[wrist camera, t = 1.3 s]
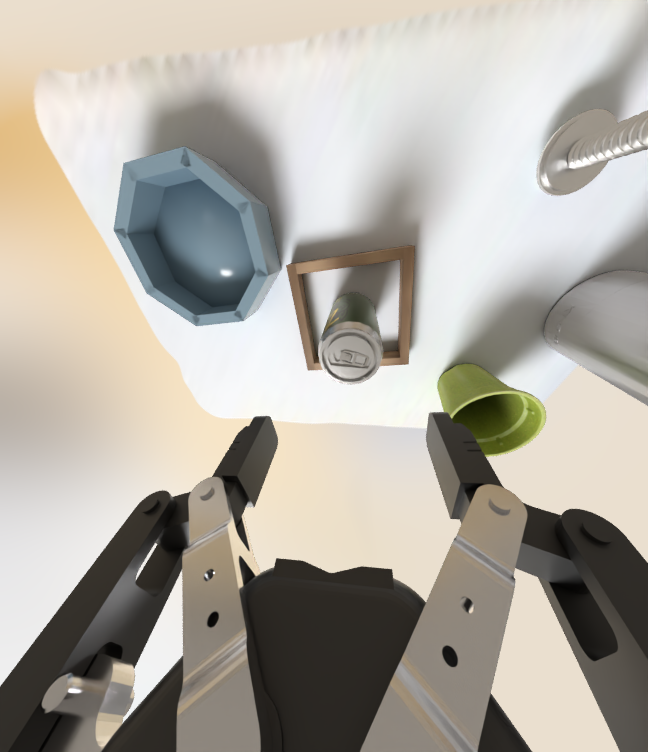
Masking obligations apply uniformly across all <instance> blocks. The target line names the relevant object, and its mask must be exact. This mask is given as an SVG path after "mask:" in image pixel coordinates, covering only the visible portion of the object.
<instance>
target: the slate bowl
mask: <svg viewBox="0 0 648 752" xmlns="http://www.w3.org/2000/svg"><path fill="white" fill-rule="evenodd" d="M114 232H115V233H116V235H117V237H118V239H119V241H120V243H121V245H122V247H123V249H124V251H125V253H126V255H127V256H128V258H129V260H130V262H131V264H132V266H133V268H134V270H135V272H136V274H137V276H138V277H139V279H140V281H141V283H142V285H143V287H144V289H145V291H146V293H147V294H149V295H150V296H152V297H153V298H155V299H156V300H158V301H159V302H161V303H162V304H164V305H165V306H167V307H168V308H170V309H171V310H173V311H174V312H176V313H177V314H179V315H180V316H182V317H183V318H185V319H186V320H188V321H189V322H191V323H192V324H194V325H195V326H203V325H212V324H221V323H230V322H240V321H244V320H245V319H247V318H248V317H249V316H251V315H252V314H253V313H255V312H256V311H257V310H258V309H259V307H260V305H261V304H262V302H263V300H264V299H265V297H266V295H267V293H268V292H269V290H270V288H271V286H272V285H273V283H274V281H275V280H276V278H277V276H278V274H279V273H280V271H281V267H280V262H279V258H278V253H277V248H276V244H275V239H274V235H273V230H272V226H271V221H270V217H269V212H268V207H267V206H266V205H265V204H264V203H263V202H261V201H260V200H259V199H258V198H257V197H256V196H254V195H253V194H252V193H251V192H250V191H249V190H247V189H246V188H245V187H244V186H243V185H242V184H240V183H239V182H238V181H237V180H236V179H235V178H233V177H232V176H231V175H230V174H229V173H228V172H227V171H225V170H224V169H223V168H222V167H221V166H220V165H218V164H217V163H216V162H215V161H213V160H211V159H209V158H207V157H205V156H203V155H201V154H199V153H197V152H195V151H193V150H192V149H190V148H188V147H186V146H184V147H181V148H177V149H173V150H170V151H166V152H162V153H159V154H155V155H151V156H148V157H144V158H141V159H137V160H133V161H130V162H126V163H124V164H123V171H122V178H121V185H120V191H119V198H118V205H117V212H116V218H115V225H114Z"/></svg>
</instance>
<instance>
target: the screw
mask: <svg viewBox="0 0 648 752" xmlns="http://www.w3.org/2000/svg"><path fill="white" fill-rule="evenodd" d="M647 149H648V111H645V112H642V113H640V114H639V115H635V116H633V117H631V118H629V119H626V120H623V121H621V122H620V123H617V120H616V118H615V117H614V115H613V114H612V113H610V112H609V111H607V110H603V109H592V110H589V111H586V112H583V113H581V114H579V115H577V116H575V117H573V118H572V119H570V120H569V121H567V122H566V123H565V124H564V125H562V126H561V127H560V128H559V129H558V130H557V131H556V132H555V133H554V134H553V136H552V137H551V138H550V140H549V141H548V142H547V144H546V146H545V147H544V149H543V151H542V153H541V156H540V158H539V161H538V165H537V173H536V178H537V182H538V185H539V187H540V189H541V190H542V191H543V192H545V193H546V194H549V195H552V196H560V195H566V194H570V193H572V192H575V191H577V190H579V189H581V188H582V187H584V186H585V185H587V184H588V183H589V182H591V181H592V180H593V179H594V178H595V177H596V176H597V175H598V174H599V173H600V172H601V171H602V169H603V168H604V167H605V166H606V164H607V163H608V161H609V160H612V159H615V158H619V157H622V156H626V155H629V154H632V153H636V152H639V151H642V150H647Z"/></svg>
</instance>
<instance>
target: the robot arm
mask: <svg viewBox="0 0 648 752" xmlns="http://www.w3.org/2000/svg"><path fill="white" fill-rule="evenodd" d="M544 336H545V339H546V342H547V343H548V345H549V346H550V347H551V348H552V349H554V350H556V351H557V352H559V353H560V354H562V355H564V356H565V357H567V358H569V359H570V360H572V361H574V362H575V363H577V364H579V365H580V366H582V367H584V368H585V369H587V370H589V371H590V372H592V373H594V374H595V375H597V376H599V377H600V378H602V379H604V380H605V381H607V382H609V383H610V384H612V385H614V386H616V387H617V388H619V389H621V390H622V391H624V392H626V393H627V394H629V395H631V396H632V397H634V398H636V399H637V400H639V401H641V402H642V403H644V404H646V405H647V406H648V273H644V272H637V271H628V270H620V271H611V272H607V273H604V274H600V275H597V276H595V277H593V278H590V279H588V280H586V281H584V282H583V283H581V284H579V285H578V286H576V287H574V288H573V289H572V290H571V291H569V292H568V293H567V294H565V295H564V296H563V297H562V298H561V299H560V300H559V301H558V302H557V304H556V305H555V306H554V308H553V309H552V310H551V312H550V314H549V316H548V318H547V320H546V323H545V327H544ZM426 441H427V447H428V451H429V454H430V457H431V460H432V463H433V466H434V469H435V472H436V475H437V478H438V482H439V485H440V488H441V491H442V494H443V497H444V500H445V503H446V506H447V509H448V512H449V515H450V518H451V519H460V521H461V527H460V529H459V532H458V534H457V536H456V538H455V539H454V541H453V543H452V545H451V547H450V550H449V552H448V554H447V556H446V558H445V561H444V563H443V565H442V568H441V570H440V572H439V575H438V577H437V579H436V582H435V584H434V586H433V588H432V590H431V593H430V595H429V598H428V600H427V602H425V601H424V600H423V599H422V598H421V597H420V596H419V595H418V594H417V593H416V592H415V591H413V590H412V589H411V588H410V587H408V586H407V585H405V584H403V583H402V582H400V581H398V580H396V579H394V578H393V575H392V574H393V573H392V569H382V568H372V567H357V568H353V569H349V570H344V571H340V572H336V573H328V572H326V571H324V570H322V569H319V568H317V567H315V566H313V565H311V564H308V563H306V562H304V561H299V560H298V561H297V560H288V559H278V558H277V559H276V562H275V566H274V568H271V569H269V570H266V571H264V572H262V573H260V570H259V567H258V565H257V562H256V560H255V557H254V554H253V551H252V547H251V543H250V539H249V535H248V531H247V527H246V523H245V520H244V516H243V512H244V510H245V507H255V504H256V501H257V499H258V496H259V494H260V491H261V489H262V486H263V483H264V481H265V478H266V475H267V473H268V470H269V467H270V465H271V462H272V459H273V457H274V454H275V451H276V449H277V445H278V438H277V434H276V431H275V428H274V425H273V423H272V420H271V418H270V417H269V416H257V417H254V418H253V420H252V422H251V424H250V426H246V427H245V428H243V430H241V431H240V432H239V433H238V435H237V436H236V438H235V440H234V441H233V443H232V444H231V446H230V448H229V450H228V451H227V453H226V454H225V456H224V458H223V459H222V461H221V463H220V464H219V466H218V468H217V469H216V471H215V473H214V475H213V476H212V477H210V478H207V479H205V480H203V481H201V482H200V483H199V484H198V485H196V487H195V488H194V489H193V490H192V492H189V493H185V494H181V495H178V496H175V497H172V496H171V495H170V494H169V492H167V491H158V492H155V493H153V494H151V495H149V496H148V497H146V498H145V499H144V500H142V501H141V502H140V503H139V504H138V506H137V507H136V508H135V510H134V511H133V512H132V513H131V515H130V516H129V517H128V519H127V520H126V521H125V523H124V524H123V525H122V527H121V528H120V529H119V531H118V532H117V533H116V535H115V536H114V537H113V538H112V540H111V541H110V542H109V544H108V545H107V546H106V548H105V549H104V550H103V552H102V553H101V554H100V556H99V557H98V558H97V560H96V561H95V562H94V564H93V565H92V566H91V568H90V569H89V570H88V571H87V573H86V574H85V575H84V577H83V578H82V579H81V581H80V582H79V583H78V585H77V586H76V587H75V589H74V590H73V591H72V593H71V594H70V595H69V596H68V598H67V599H66V601H65V602H64V603H63V604H62V606H61V607H60V608H59V610H58V611H57V612H56V614H55V615H54V616H53V618H52V619H51V620H50V622H49V623H48V624H47V626H46V627H45V628H44V629H43V631H42V632H41V633H40V635H39V636H38V637H37V639H36V640H35V642H34V643H33V644H32V645H31V647H30V648H29V649H28V651H27V652H26V653H25V655H24V656H23V657H22V659H21V660H20V661H19V663H18V664H17V665H16V667H15V668H14V669H13V670H12V672H11V673H10V674H9V676H8V677H7V678H6V680H5V681H4V682H3V684H2V685H1V686H0V752H532V751H531V750H530V748H529V747H528V745H527V744H526V742H525V741H524V740H523V738H522V737H521V735H520V734H519V733H518V731H517V730H516V728H515V727H514V725H513V724H512V723H511V721H510V720H509V718H508V717H507V716H506V714H505V713H504V711H503V710H502V708H501V707H500V706H499V704H498V703H497V701H496V700H495V698H494V697H493V696H492V694H491V689H492V684H493V680H494V676H495V671H496V667H497V663H498V658H499V654H500V650H501V645H502V641H503V636H504V632H505V627H506V624H507V619H508V615H509V611H510V606H511V602H512V598H513V593H514V588H515V578H514V570H515V568H517V569H519V570H522V571H524V572H527V573H529V574H532V575H534V576H537V577H538V578H539V580H540V583H541V584H542V587H543V589H544V591H545V593H546V595H547V597H548V600H549V602H550V604H551V606H552V608H553V610H554V612H555V614H556V617H557V619H558V621H559V623H560V625H561V627H562V629H563V631H564V634H565V636H566V638H567V640H568V642H569V644H570V646H571V648H572V651H573V653H574V655H575V657H576V659H577V661H578V663H579V665H580V668H581V670H582V672H583V674H584V676H585V678H586V680H587V682H588V685H589V687H590V689H591V691H592V693H593V695H594V697H595V699H596V701H597V704H598V706H599V708H600V710H601V712H602V714H603V716H604V718H605V721H606V722H607V725H608V727H609V729H610V731H611V733H612V735H613V738H614V740H615V742H616V744H617V746H618V748H619V750H620V752H648V563H647V562H646V560H645V559H644V558H643V557H642V556H641V554H640V553H639V552H638V551H637V550H636V548H635V547H634V546H633V545H632V543H630V541H629V540H628V539H627V537H626V536H625V535H624V534H623V533H622V532H621V531H620V530H619V529H618V528H617V527H615V526H614V525H613V524H612V523H610V522H609V521H607V520H606V519H604V518H602V517H600V516H598V515H596V514H594V513H591V512H588V511H585V510H580V509H569V510H566V511H565V512H564V513H563V514H562V515H558V514H555V513H551V512H548V511H544V510H541V509H538V508H535V507H532V506H529V505H527V504H525V503H523V502H521V500H520V499H519V498H518V497H517V496H516V495H515V494H513V493H512V492H510V491H509V490H507V489H505V488H504V487H503V486H502V484H501V483H500V481H499V479H498V477H497V476H496V474H495V472H494V471H493V469H492V467H491V465H490V463H489V462H488V460H487V458H486V456H485V455H484V453H483V452H482V449H481V448H480V446H479V444H478V443H477V441H476V439H475V437H474V435H473V434H472V432H471V431H470V430H469V429H468V428H466V427H465V426H464V425H463V424H462V423H453V421H452V419H451V417H450V415H449V413H448V412H433V413H429V417H428V426H427V434H426ZM154 543H157V544H158V545H157V546H156V548H155V550H154V552H153V553H152V555H151V557H150V558H149V560H148V561H147V563H146V565H145V566H144V568H143V570H142V571H141V573H140V575H139V577H138V578H137V580H136V575H137V572H138V570H139V568H140V567H141V565H142V563H143V562H144V560H145V558H146V557H147V555H148V553H149V552H150V550H151V548H152V547H153V545H154ZM181 570H182V574H183V576H182V577H183V656H182V657H181V658H180V659H179V661H178V662H177V663H176V664H175V665H174V666H173V667H172V668H171V670H170V671H169V672H168V673H167V674H166V675H165V676H164V677H163V679H162V680H161V681H160V682H159V683H158V684H157V685H156V687H155V688H154V689H153V690H152V691H151V692H150V693H149V694H148V695H147V697H146V698H145V699H144V700H143V701H142V702H141V704H140V705H139V706H138V707H137V708H136V709H135V710H134V711H133V712H132V713H131V715H130V716H129V717H128V718H127V719H126V720H125V721H124V723H123V724H122V722H123V717H124V716H125V715H126V713H127V712H128V711H129V709H130V707H131V705H132V702H133V699H134V690H133V686H134V680H135V673H134V668H135V666H136V664H137V662H138V660H139V658H140V655H141V654H142V651H143V649H144V647H145V645H146V643H147V641H148V639H149V636H150V634H151V633H152V631H153V628H154V626H155V624H156V622H157V620H158V618H159V616H160V614H161V612H162V610H163V607H164V606H165V603H166V601H167V599H168V597H169V595H170V593H171V591H172V589H173V587H174V585H175V583H176V580H177V578H178V576H179V574H180V572H181ZM135 580H136V582H135Z"/></svg>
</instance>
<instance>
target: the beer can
mask: <svg viewBox="0 0 648 752" xmlns="http://www.w3.org/2000/svg"><path fill="white" fill-rule="evenodd" d="M318 356H319V361H320V364H321V367H322V369H323V371H324V372H325V373H326V375H327V376H329V377H330V378H331V379H333V380H334V381H337V382H340V383H342V384H357V383H362V382H364V381H366V380H368V379H370V378H371V377H372V376H373V375H374V374H375V373H376V372H377V370H378V368H379V366H380V363H381V361H382V356H383V345H382V340H381V336H380V331H379V327H378V322H377V318H376V313H375V309H374V306H373V304H372V302H371V300H370V299H368V298H367V297H366V296H365V295H362V294H360V293H347V294H344V295H342V296H341V297H339V298H338V299H337V300H336V301H335V303H334V304H333V306H332V309H331V312H330V314H329V317H328V320H327V323H326V326H325V329H324V331H323V334H322V337H321V340H320V343H319V346H318Z"/></svg>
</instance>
